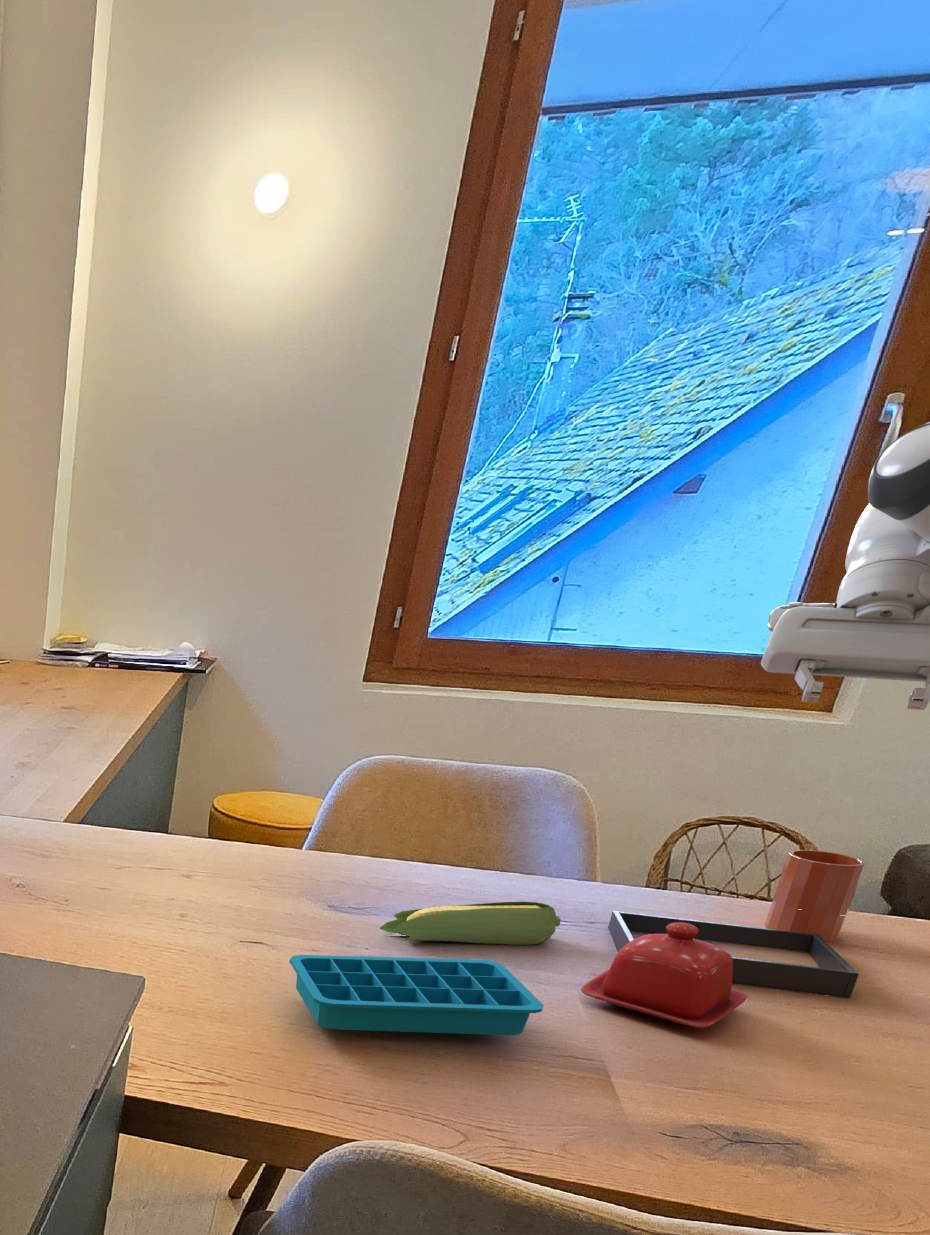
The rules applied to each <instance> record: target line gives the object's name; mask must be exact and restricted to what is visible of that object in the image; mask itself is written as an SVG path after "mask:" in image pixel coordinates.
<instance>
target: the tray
mask: <svg viewBox="0 0 930 1235" xmlns="http://www.w3.org/2000/svg"><path fill="white" fill-rule="evenodd" d="M676 922H682V923H688V924H691V925H694V926H695V927H697V929H698V934H697V935H696V936H694V938H693V939H697V940H700V941H708V942H717V943H725V944H734V945H742V946H751V947H759V948H768V949H776V950H785V951H793V952H802V953H808V955H809V956H810V957H811V958H812V960H813V961H814V962H815V963H816V965H817V966H810V965H802V964H795V963H787V962H780V961H779V962H777V961H770V960H764V959H763V960H762V959H755V958H745V957H739V956H732V959H733V975H732V985H737V986H738V985H739V984H740V985H739V986H746V987H755V988H763V989H771V990H779V991H785V990H786V991H785V992H794V993H802V994H809V993H811V994H810V995H816V994H817V996H824V995H829V996H828V997H833V996H834V997H833V998H840V999H848V998H850V999H851V997H852V994H853V992H854V989H855V986H856V984H857V981H858V978H859V975H860V974H859V972H858V971H857V970H856V969H855V968H854V967H853V966H852V965H850V964H849V963H848V961H846V959H844V957H843V956H842V955H840V954H839V953H838V951H837V950H835V949H834V948H833V947H832V946H831V944H829V942H826V941H825V940H824V939H823V938H822V937H821V936H820V935H819V934H812V933H803V932H794V931H785V930H777V929H768V928H766V927H759V926H750V925H741V924H734V923H733V924H732V923H724V922H717V921H716V922H715V921H708V920H707V921H706V920H697V919H690V918H689V919H687V918H682V917H681V918H679V917H672V916H662V915H653V914H645V913H637V912H629V911H628V912H627V911H618V910H612V911H611V915H610V920H609V922H608V926H607V928H608V930H609V932H610V936H611V938H612V941H613V944H614V946H615V948H616V951H617V953H618V952H619V951H620V950H621V949H622V948H623V947H624V946H625V945H626V944H628V943H629V942H631V941H632V940H634V939H635V938H634V936H633V934H632V933H640V934H646V935H648V934H668V932H667V930H666V926H667V925H669V924H671V923H676Z"/></svg>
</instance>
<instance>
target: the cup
mask: <svg viewBox="0 0 930 1235" xmlns="http://www.w3.org/2000/svg"><path fill="white" fill-rule="evenodd" d="M865 866H866V862H865V861H864V860H863V859H861V858H858V857H855V856H852V855H849V854H848V855H847V854H843V853H839V852H834V851H833V852H832V851H827V850H815V849H795V850H790V851H789V852H787V856H786V859H785V862H784V865H783V868H782V871H781V874H780V877H779V880H778V883H777V886H776V889H775V893H774V894H773V898H772V900H771V904H770V906H769V909H768V910H769V911H768V912H767V915H766V918H765V922H764V925H765V926H764V928H768V929H777V930H785V931H794V932H803V933H812V934H819V935H820V936H821V937H822V938H823V939H824V940H825V941H826V942H827V943H831V942H832V943H833V942H835V941H838V939H839V938H840V935H841V933H842V930H843V927H844V924H845V921H846V919H847V916H840V915H846V914H847V915H848V913H849V910H850V908H851V906H852V902H853V899H854V896H855V894H856V891H857V888H858V886H859V882H860V880H861V877H862V874H863V871H864V869H865ZM798 909H802V910H798Z"/></svg>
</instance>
